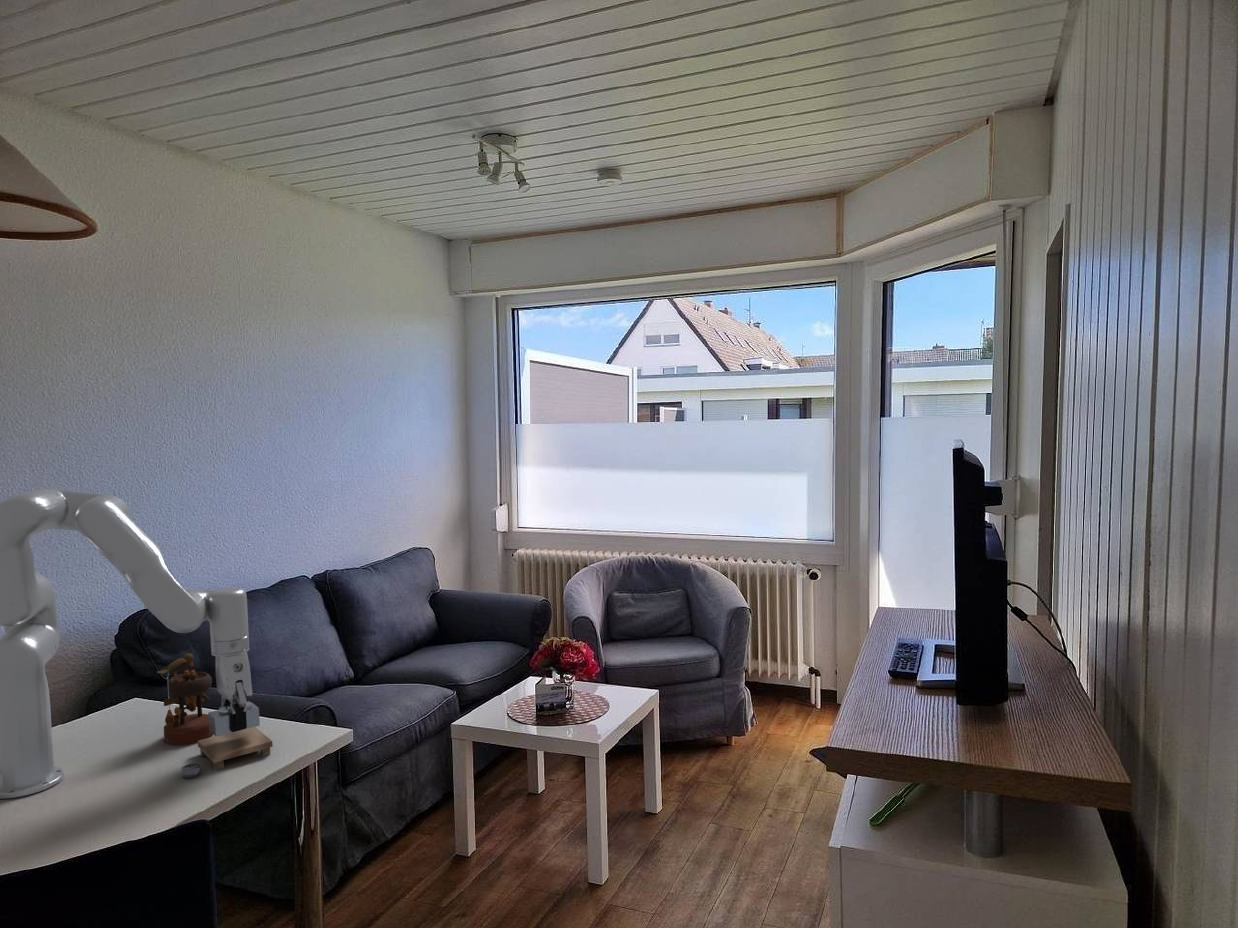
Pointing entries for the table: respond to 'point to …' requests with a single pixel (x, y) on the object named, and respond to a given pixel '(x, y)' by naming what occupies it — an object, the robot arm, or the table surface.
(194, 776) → the dark grey round piece
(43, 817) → the table surface
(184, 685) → the music box
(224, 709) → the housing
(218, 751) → the stand
